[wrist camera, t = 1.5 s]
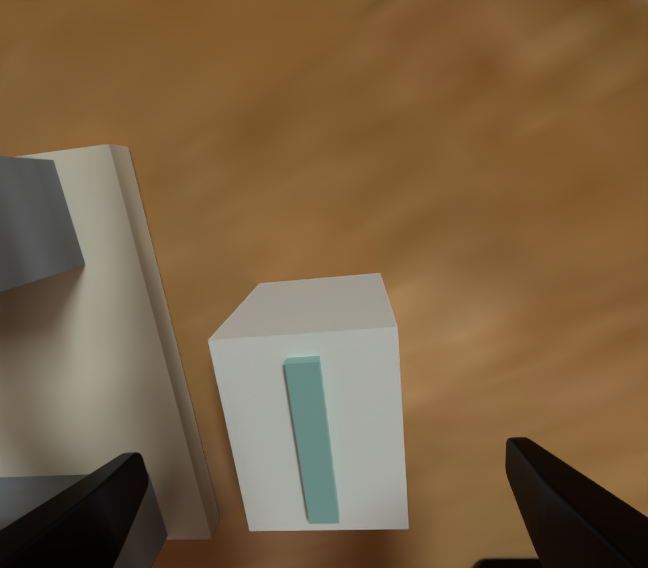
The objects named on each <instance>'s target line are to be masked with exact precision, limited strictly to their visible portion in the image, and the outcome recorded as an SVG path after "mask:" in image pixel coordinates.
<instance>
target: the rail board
mask: <svg viewBox="0 0 648 568" xmlns="http://www.w3.org/2000/svg"><path fill="white" fill-rule="evenodd" d="M126 452H138V453H140V454H141V455H142V457H143V460H144V463H145V466H146V470H147V473H148V476H149V485H148V488H147V491H146V493H145V496H144V498H143V501H142V503H141V505H140V508H139V510H138V513H137V515H136V517H135V520H134V522H133V525H132V527H131V529H130V532H129V534H128V537H127V539H126V541H125V544H124V546H123V548H122V550H121V553H120V555H119V557H118V559H117V561H116V563H115V565H114V567H113V568H151V567H152V565H153V564H154V562H155V560H156V558H157V556H158V554H159V552H160V550H161V548H162V546H163V544H164V542H165V540H199V539H212V537H213V535H214V532H215V530H216V527H217V525H218V522H219V519H220V517H219V513H218V509H217V505H216V501H215V497H214V493H213V489H212V485H211V481H210V477H209V473H208V469H207V464H206V460H205V456H204V452H203V448H202V444H201V440H200V436H199V432H198V428H197V424H196V420H195V416H194V412H193V408H192V404H191V400H190V396H189V392H188V387H187V383H186V379H185V375H184V371H183V367H182V363H181V359H180V355H179V351H178V347H177V343H176V339H175V335H174V331H173V327H172V323H171V319H170V315H169V310H168V306H167V302H166V298H165V294H164V290H163V286H162V282H161V278H160V274H159V270H158V266H157V262H156V258H155V254H154V250H153V246H152V242H151V237H150V233H149V229H148V225H147V221H146V217H145V213H144V209H143V205H142V201H141V197H140V193H139V189H138V185H137V181H136V177H135V173H134V169H133V165H132V160H131V156H130V152H129V148H128V147H125V146H118V145H112V144H106V145H98V146H91V147H83V148H76V149H69V150H61V151H54V152H46V153H39V154H32V155H24V156H17V157H5V156H0V530H1V529H3V528H4V527H6V526H8V525H9V524H11V523H12V522H14V521H16V520H17V519H19V518H20V517H22V516H24V515H25V514H27V513H28V512H30V511H31V510H33V509H35V508H36V507H38V506H39V505H41V504H43V503H44V502H46V501H47V500H49V499H51V498H52V497H54V496H55V495H57V494H59V493H60V492H62V491H63V490H65V489H66V488H68V487H70V486H71V485H73V484H74V483H76V482H78V481H79V480H81V479H82V478H84V477H86V476H87V475H89V474H90V473H92V472H93V471H95V470H97V469H98V468H100V467H101V466H103V465H105V464H106V463H108V462H109V461H111V460H113V459H114V458H116V457H117V456H119V455H121V454H122V453H126Z"/></svg>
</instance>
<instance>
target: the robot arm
mask: <svg viewBox="0 0 648 568" xmlns="http://www.w3.org/2000/svg"><path fill="white" fill-rule="evenodd" d="M505 468H506V474H507V478H508V481H509V483H510V486H511V488H512V491H513V494H514V496H515V499H516V502H517V504H518V507H519V509H520V512H521V515H522V517H523V520H524V523H525V525H526V528H527V531H528V533H529V536H530V538H531V541H532V543H533V546H534V548H535V551H536V553H537V555H538V557H539V560H540V561H486V562H483V563H482V564H481V565H480V566H479V568H648V517H646V516H645V515H643V514H642V513H640V512H639V511H637V510H636V509H634V508H633V507H631V506H630V505H628V504H627V503H625V502H624V501H622V500H621V499H619V498H618V497H616V496H615V495H613V494H612V493H610V492H609V491H607V490H606V489H604V488H603V487H601V486H600V485H598V484H597V483H595V482H594V481H592V480H591V479H589V478H588V477H586V476H585V475H583V474H582V473H580V472H579V471H577V470H576V469H574V468H573V467H571V466H570V465H568V464H566V463H565V462H563V461H562V460H560V459H559V458H557V457H556V456H554V455H553V454H551V453H550V452H548V451H547V450H545V449H544V448H542V447H541V446H539V445H538V444H536V443H535V442H533V441H532V440H530V439H528V438H526V437H513V438H509V439H507V442H506V463H505ZM148 485H149V476H148V473H147V470H146V466H145V463H144V460H143V457H142V455H141V454H140V453H138V452H126V453H122V454H121V455H119V456H117V457H116V458H114V459H113V460H111V461H109V462H108V463H106V464H105V465H103V466H101V467H100V468H98V469H97V470H95V471H93V472H92V473H90V474H89V475H87V476H86V477H84V478H82V479H81V480H79V481H78V482H76V483H74V484H73V485H71V486H70V487H68V488H66V489H65V490H63V491H62V492H60V493H59V494H57V495H55V496H54V497H52V498H51V499H49V500H47V501H46V502H44V503H43V504H41V505H39V506H38V507H36V508H35V509H33V510H31V511H30V512H28V513H27V514H25V515H24V516H22V517H20V518H19V519H17V520H16V521H14V522H12V523H11V524H9V525H8V526H6V527H4V528H3V529H1V530H0V568H113V567H114V565H115V563H116V561H117V559H118V557H119V555H120V553H121V550H122V548H123V546H124V544H125V541H126V539H127V537H128V534H129V532H130V529H131V527H132V525H133V522H134V520H135V517H136V515H137V513H138V510H139V508H140V505H141V503H142V501H143V498H144V496H145V493H146V491H147V488H148Z"/></svg>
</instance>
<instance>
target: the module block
mask: <svg viewBox="0 0 648 568" xmlns="http://www.w3.org/2000/svg"><path fill="white" fill-rule="evenodd" d="M208 343H209V348H210V352H211V357H212V361H213V366H214V370H215V375H216V380H217V384H218V389H219V393H220V398H221V403H222V407H223V412H224V416H225V421H226V426H227V430H228V435H229V439H230V444H231V448H232V453H233V458H234V462H235V467H236V471H237V476H238V481H239V485H240V490H241V494H242V499H243V503H244V508H245V513H246V517H247V522H248V526H249V531H300V530H376V529H409V522H408V504H407V486H406V469H405V451H404V433H403V415H402V398H401V380H400V362H399V344H398V327H397V324H396V321H395V317H394V314H393V311H392V308H391V305H390V302H389V299H388V296H387V293H386V290H385V286H384V283H383V280H382V277H381V274H380V273H374V274H363V275H351V276H340V277H328V278H317V279H305V280H294V281H282V282H271V283H259V284H258V285H257V287H256V288H255V289H254V290H253V291H252V292H251V293H250V294H249V295H248V296H247V298H246V299H245V300H244V301H243V302H242V303H241V304H240V305H239V306H238V308H237V309H236V310H235V311H234V312H233V313H232V314H231V315H230V316H229V317H228V319H227V320H226V321H225V322H224V323H223V324H222V325H221V326H220V327H219V329H218V330H217V331H216V332H215V333H214V334H213V335H212V336H211V337H210V338H209V340H208Z"/></svg>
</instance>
